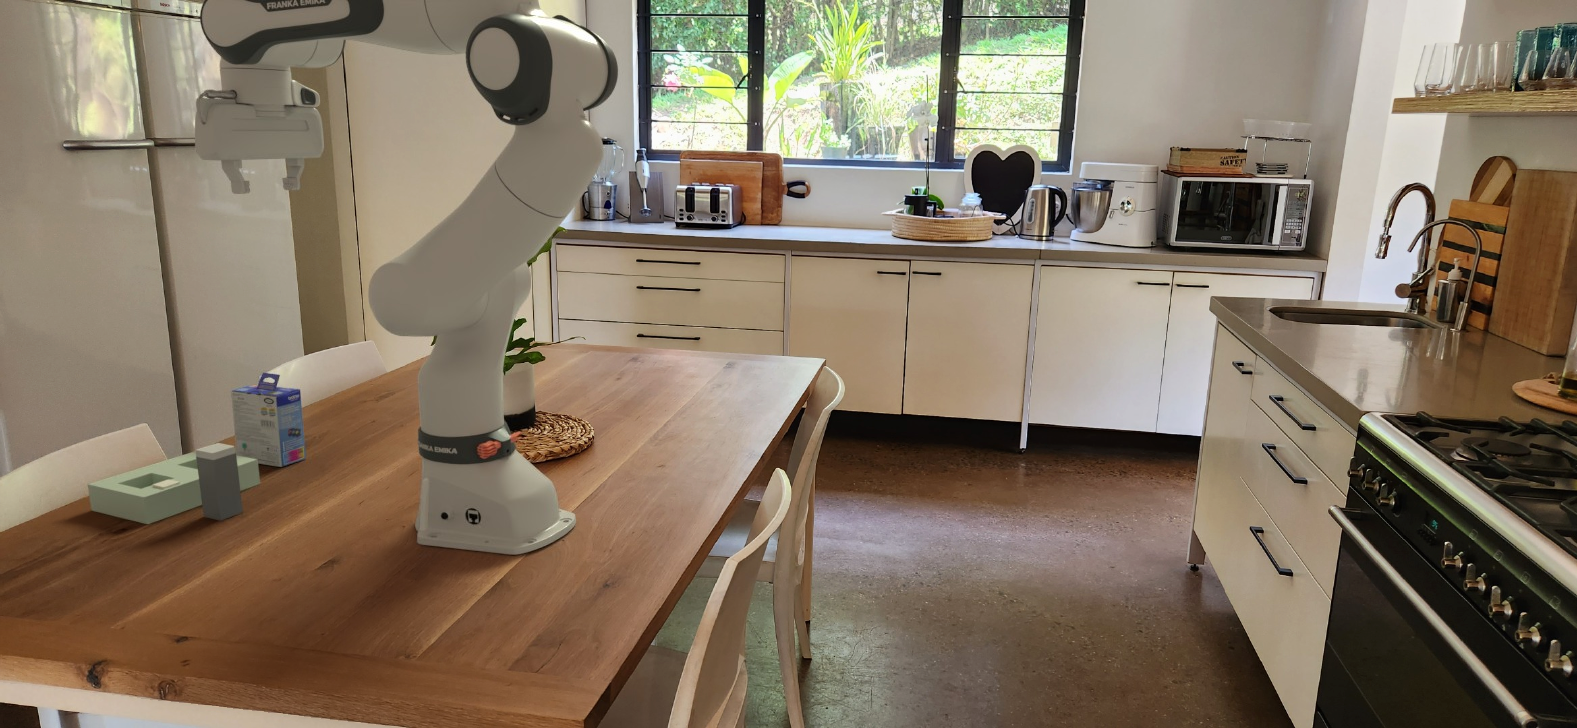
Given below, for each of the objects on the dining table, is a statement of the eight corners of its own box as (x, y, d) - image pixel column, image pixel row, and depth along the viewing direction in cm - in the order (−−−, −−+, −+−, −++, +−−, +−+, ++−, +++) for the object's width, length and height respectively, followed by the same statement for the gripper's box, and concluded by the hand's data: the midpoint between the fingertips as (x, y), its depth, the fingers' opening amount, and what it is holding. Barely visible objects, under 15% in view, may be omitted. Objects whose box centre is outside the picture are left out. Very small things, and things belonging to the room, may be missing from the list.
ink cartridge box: (309, 458, 167) (301, 374, 163) (283, 468, 161) (274, 382, 158) (262, 451, 170) (253, 369, 166) (235, 461, 164) (226, 376, 161)
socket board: (260, 483, 154) (257, 457, 153) (147, 524, 138) (143, 495, 137) (206, 472, 159) (203, 446, 158) (91, 510, 143) (87, 482, 142)
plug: (242, 512, 143) (235, 446, 141) (221, 520, 140) (212, 453, 138) (225, 508, 145) (217, 442, 142) (203, 516, 141) (195, 449, 139)
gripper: (215, 89, 129) (226, 197, 132) (327, 95, 148) (335, 189, 151) (176, 88, 130) (188, 195, 134) (292, 94, 149) (301, 187, 153)
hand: (267, 192), depth 142 cm, fingers open, 8 cm apart
